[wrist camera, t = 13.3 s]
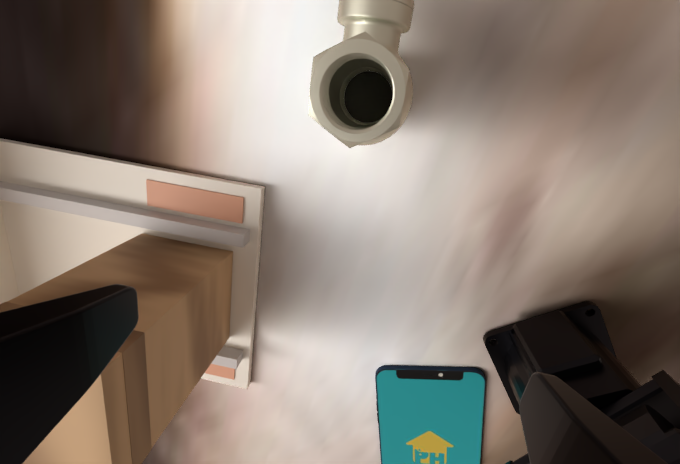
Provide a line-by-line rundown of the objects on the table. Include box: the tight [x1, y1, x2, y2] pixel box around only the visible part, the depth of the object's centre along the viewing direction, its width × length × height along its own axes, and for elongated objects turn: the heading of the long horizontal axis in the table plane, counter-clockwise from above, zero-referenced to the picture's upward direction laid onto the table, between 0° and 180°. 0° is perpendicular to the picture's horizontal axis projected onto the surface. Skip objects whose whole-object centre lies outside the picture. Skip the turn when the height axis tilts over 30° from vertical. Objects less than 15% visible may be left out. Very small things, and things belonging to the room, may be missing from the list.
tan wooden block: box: [0, 233, 233, 464], centre depth 18 cm, size 6×6×10 cm
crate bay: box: [0, 138, 265, 389], centre depth 21 cm, size 18×15×7 cm
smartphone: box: [375, 365, 486, 464], centre depth 26 cm, size 7×1×15 cm
